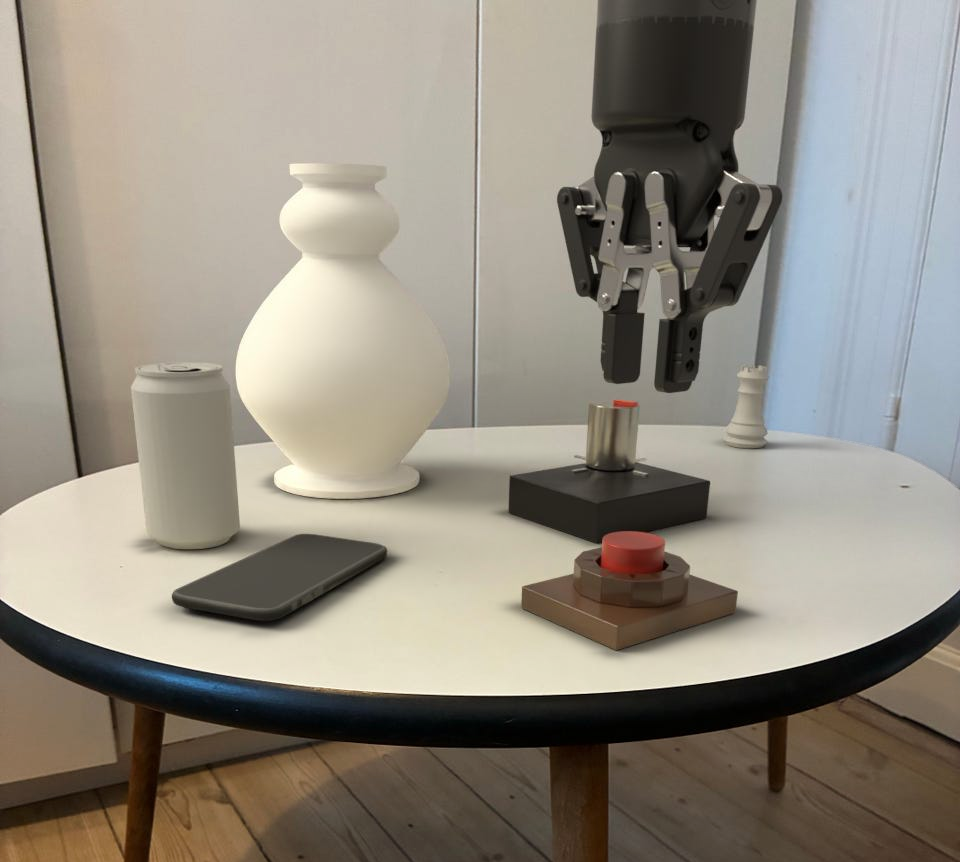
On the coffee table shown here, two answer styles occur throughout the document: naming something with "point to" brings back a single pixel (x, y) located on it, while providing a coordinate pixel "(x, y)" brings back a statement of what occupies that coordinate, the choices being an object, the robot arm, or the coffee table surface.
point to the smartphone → (279, 577)
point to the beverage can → (186, 453)
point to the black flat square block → (608, 499)
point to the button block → (627, 601)
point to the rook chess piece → (748, 410)
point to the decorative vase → (342, 345)
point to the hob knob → (612, 434)
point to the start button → (632, 552)
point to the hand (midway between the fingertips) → (645, 384)
